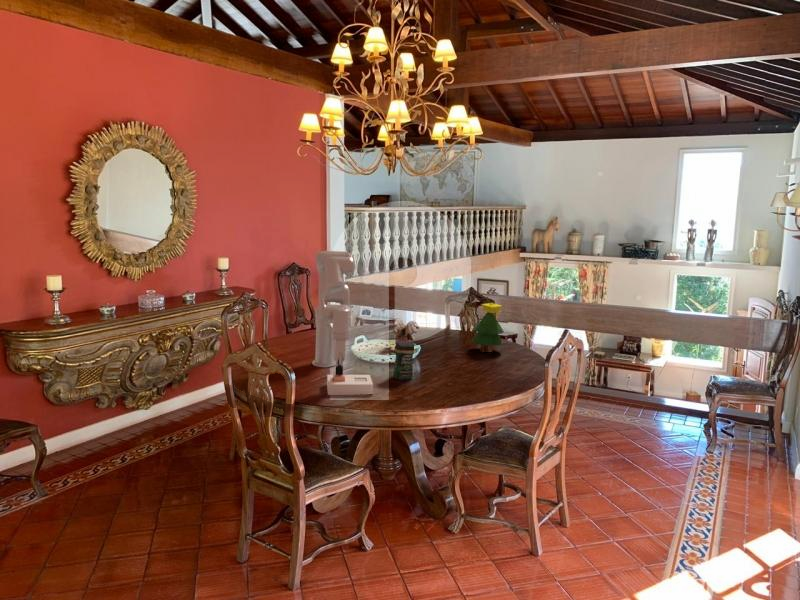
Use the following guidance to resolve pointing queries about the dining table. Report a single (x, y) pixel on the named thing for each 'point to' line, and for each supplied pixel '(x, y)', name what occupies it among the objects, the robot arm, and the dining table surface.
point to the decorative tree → (488, 329)
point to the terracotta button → (338, 377)
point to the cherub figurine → (404, 330)
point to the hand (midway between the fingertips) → (339, 374)
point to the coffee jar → (403, 360)
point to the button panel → (350, 385)
